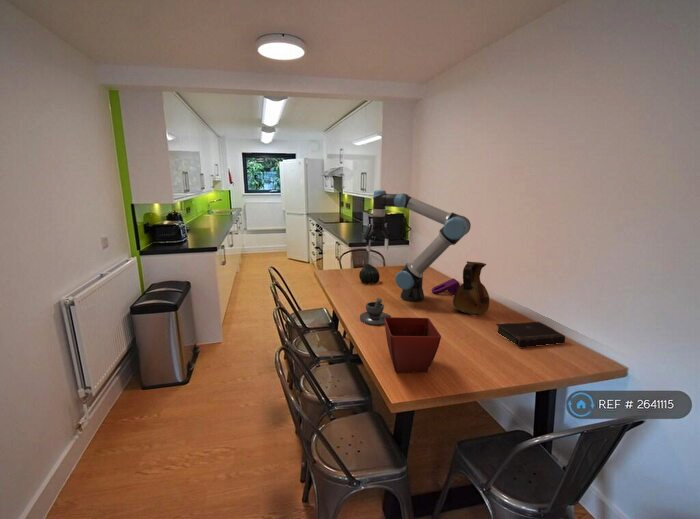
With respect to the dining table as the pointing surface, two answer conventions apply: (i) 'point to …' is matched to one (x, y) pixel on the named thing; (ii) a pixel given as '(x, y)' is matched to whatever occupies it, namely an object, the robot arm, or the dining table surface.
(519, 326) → the diary
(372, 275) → the squash
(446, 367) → the dining table surface
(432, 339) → the plant pot
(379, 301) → the mortar and pestle
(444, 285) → the mounting bracket
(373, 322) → the disc
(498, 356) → the dining table surface
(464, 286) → the ceramic pitcher
